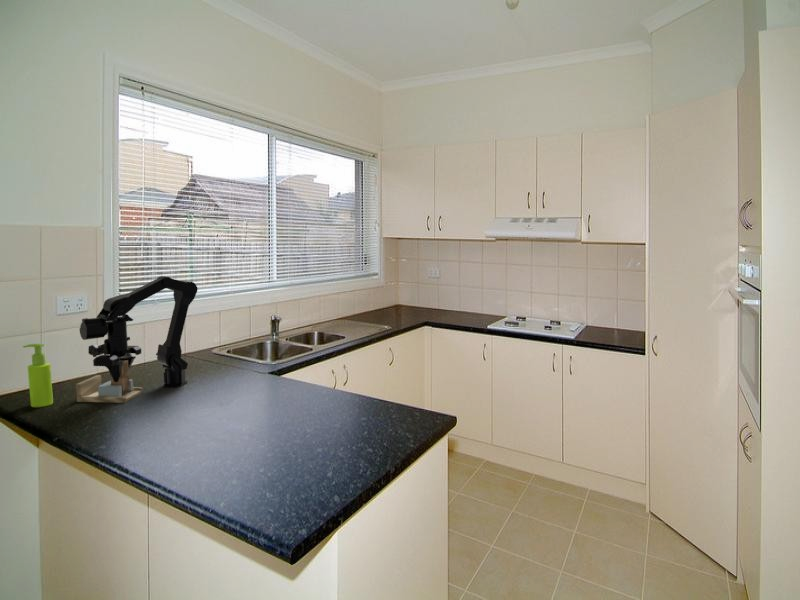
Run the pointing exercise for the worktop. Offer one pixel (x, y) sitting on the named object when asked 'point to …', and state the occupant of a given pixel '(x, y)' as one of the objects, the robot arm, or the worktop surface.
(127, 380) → the wooden post
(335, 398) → the worktop surface
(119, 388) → the block
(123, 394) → the shallow wooden tray
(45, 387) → the soap dispenser
